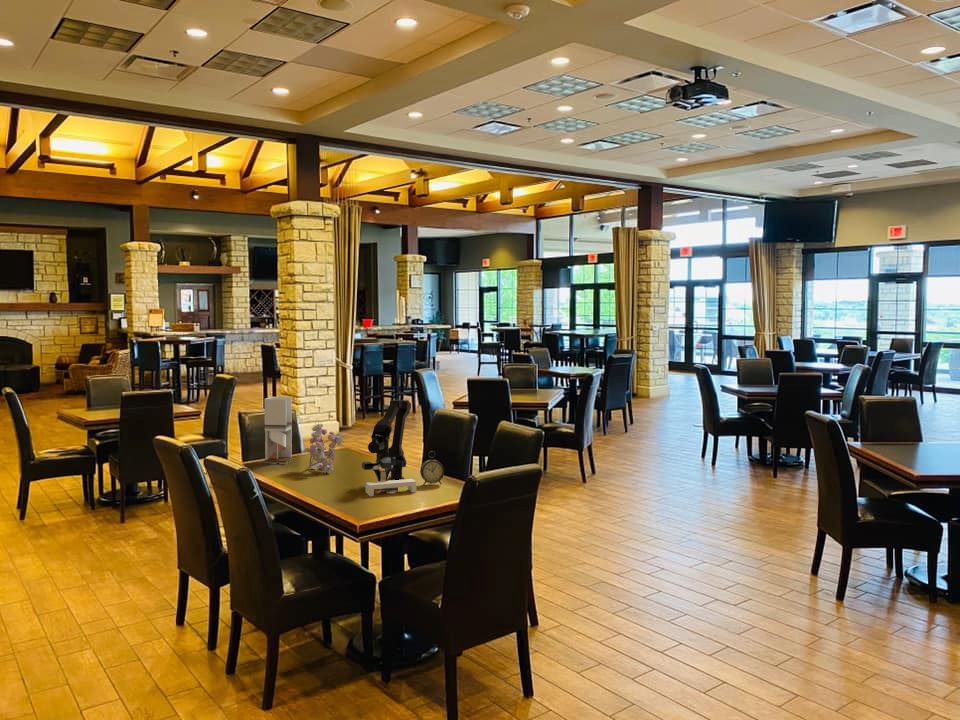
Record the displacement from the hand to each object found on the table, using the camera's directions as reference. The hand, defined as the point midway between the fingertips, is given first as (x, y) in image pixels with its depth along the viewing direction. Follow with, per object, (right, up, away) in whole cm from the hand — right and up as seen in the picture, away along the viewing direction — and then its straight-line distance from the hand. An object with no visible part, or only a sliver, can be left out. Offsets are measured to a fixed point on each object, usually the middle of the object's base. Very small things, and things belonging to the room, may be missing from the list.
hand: (382, 482), depth 351 cm
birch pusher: (+2, -2, -5) cm, 5 cm away
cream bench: (+6, -3, -13) cm, 14 cm away
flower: (-34, +1, +30) cm, 45 cm away
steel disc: (+6, -3, -13) cm, 15 cm away
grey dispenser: (-63, +2, +51) cm, 81 cm away
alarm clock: (+23, -2, +5) cm, 24 cm away
